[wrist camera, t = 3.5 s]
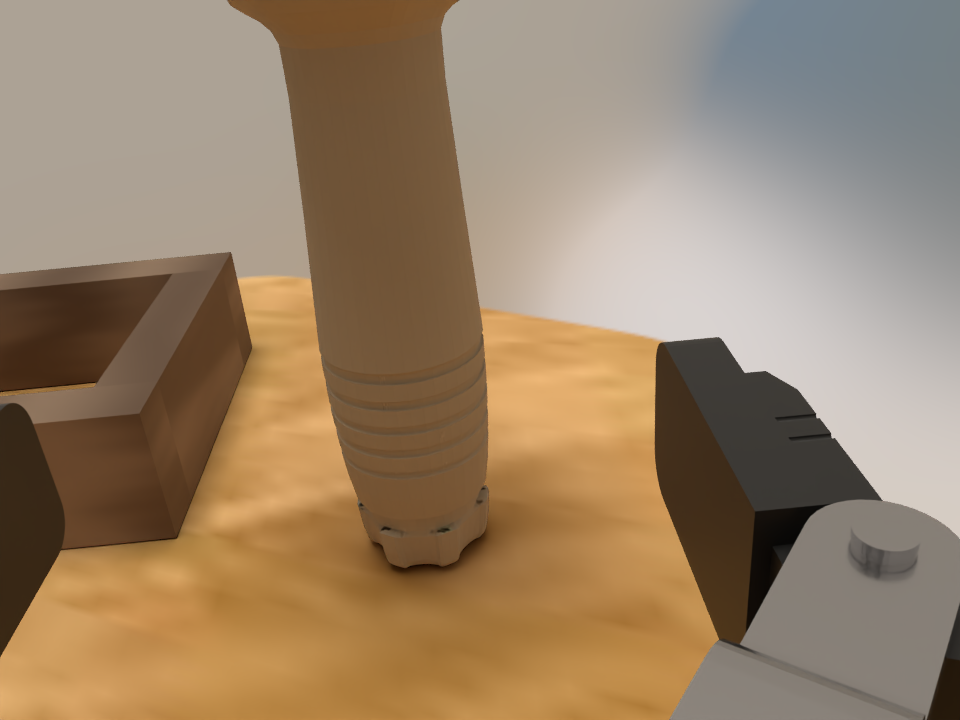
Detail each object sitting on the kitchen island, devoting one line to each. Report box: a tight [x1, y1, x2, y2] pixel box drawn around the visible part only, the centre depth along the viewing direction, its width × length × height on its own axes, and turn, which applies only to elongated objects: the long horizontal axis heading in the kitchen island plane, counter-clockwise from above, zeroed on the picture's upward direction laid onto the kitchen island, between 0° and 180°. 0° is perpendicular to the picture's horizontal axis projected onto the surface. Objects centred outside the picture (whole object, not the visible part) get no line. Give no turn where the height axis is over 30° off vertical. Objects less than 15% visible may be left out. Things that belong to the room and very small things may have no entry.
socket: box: [0, 252, 252, 549], centre depth 29 cm, size 12×12×4 cm
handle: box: [228, 0, 489, 568], centre depth 20 cm, size 5×6×15 cm
